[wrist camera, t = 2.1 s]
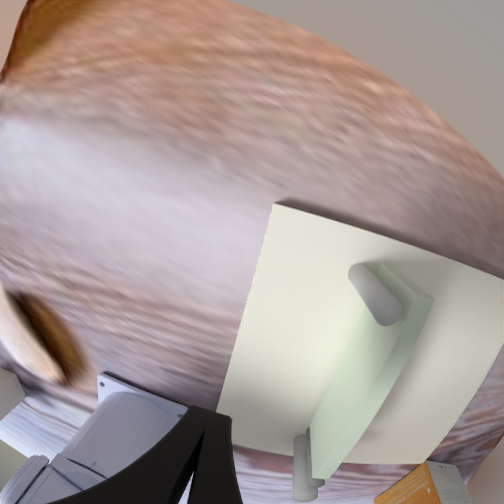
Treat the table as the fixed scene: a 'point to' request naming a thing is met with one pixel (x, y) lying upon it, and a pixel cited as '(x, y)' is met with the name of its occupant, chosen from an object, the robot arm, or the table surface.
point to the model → (9, 392)
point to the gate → (364, 376)
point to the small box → (428, 486)
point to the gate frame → (340, 334)
